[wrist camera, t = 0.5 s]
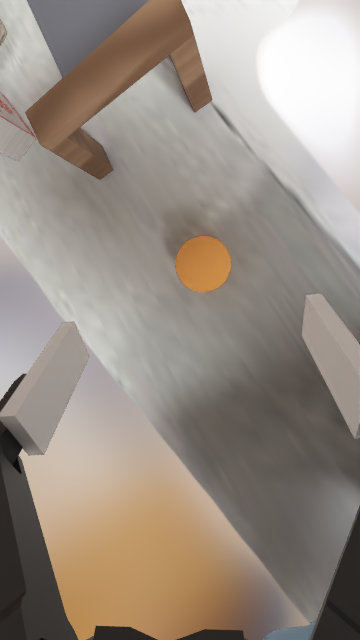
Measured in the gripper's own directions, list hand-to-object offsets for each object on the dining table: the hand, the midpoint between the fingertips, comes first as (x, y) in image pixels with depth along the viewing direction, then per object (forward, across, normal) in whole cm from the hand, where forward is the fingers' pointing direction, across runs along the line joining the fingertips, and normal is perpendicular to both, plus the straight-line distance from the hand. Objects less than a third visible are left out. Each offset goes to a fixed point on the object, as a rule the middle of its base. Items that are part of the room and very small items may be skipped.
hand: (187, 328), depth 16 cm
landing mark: (+30, +8, -22) cm, 38 cm away
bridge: (+23, +4, -10) cm, 26 cm away
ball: (+13, -1, +2) cm, 13 cm away
